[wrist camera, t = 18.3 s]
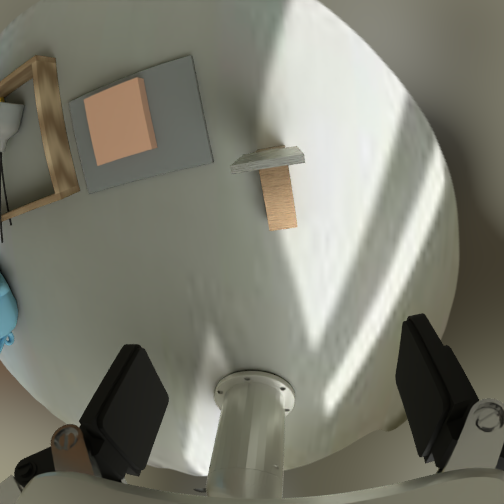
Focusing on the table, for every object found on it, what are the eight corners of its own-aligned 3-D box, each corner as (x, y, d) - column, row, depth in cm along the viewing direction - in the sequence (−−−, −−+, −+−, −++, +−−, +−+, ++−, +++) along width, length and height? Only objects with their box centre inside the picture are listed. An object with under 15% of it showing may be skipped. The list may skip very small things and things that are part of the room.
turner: (295, 143, 30) (306, 217, 33) (246, 151, 31) (260, 223, 34) (303, 153, 20) (317, 262, 23) (230, 165, 20) (251, 271, 23)
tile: (151, 149, 29) (137, 77, 26) (97, 166, 30) (83, 99, 27) (158, 147, 31) (144, 78, 28) (105, 163, 32) (91, 99, 29)
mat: (213, 162, 31) (212, 162, 31) (91, 193, 34) (88, 194, 33) (192, 56, 27) (190, 55, 26) (71, 102, 29) (68, 102, 29)
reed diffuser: (8, 97, 24) (-13, 249, 30) (49, 103, 30) (24, 241, 36) (-14, 95, 26) (-33, 224, 32) (20, 99, 33) (-1, 218, 38)
